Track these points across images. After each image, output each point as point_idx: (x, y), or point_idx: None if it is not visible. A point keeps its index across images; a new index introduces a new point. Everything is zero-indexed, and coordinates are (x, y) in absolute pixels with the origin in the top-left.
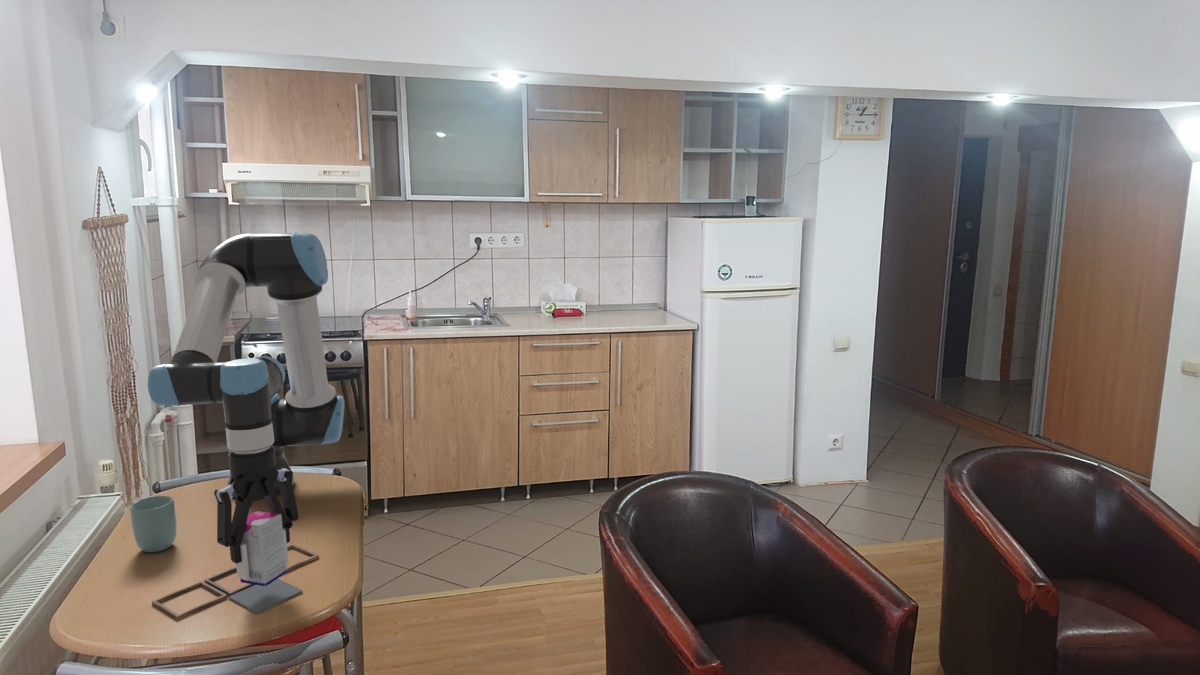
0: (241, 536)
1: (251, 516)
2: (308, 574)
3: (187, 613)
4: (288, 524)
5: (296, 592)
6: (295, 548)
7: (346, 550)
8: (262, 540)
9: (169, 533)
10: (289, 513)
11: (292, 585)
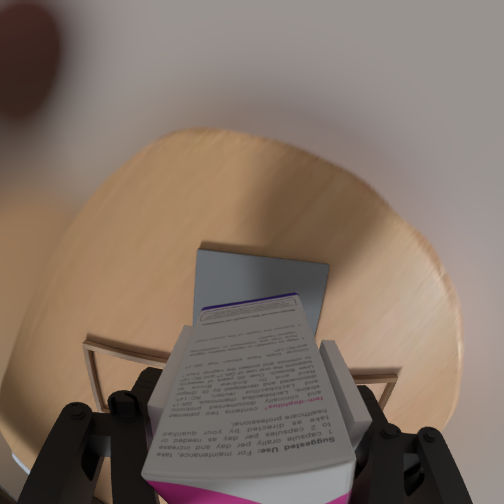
0: (380, 453)
1: None
2: (135, 306)
3: (380, 377)
4: (124, 410)
5: (213, 254)
6: (100, 400)
7: (41, 309)
8: (325, 391)
9: None
10: (87, 449)
11: (194, 292)
